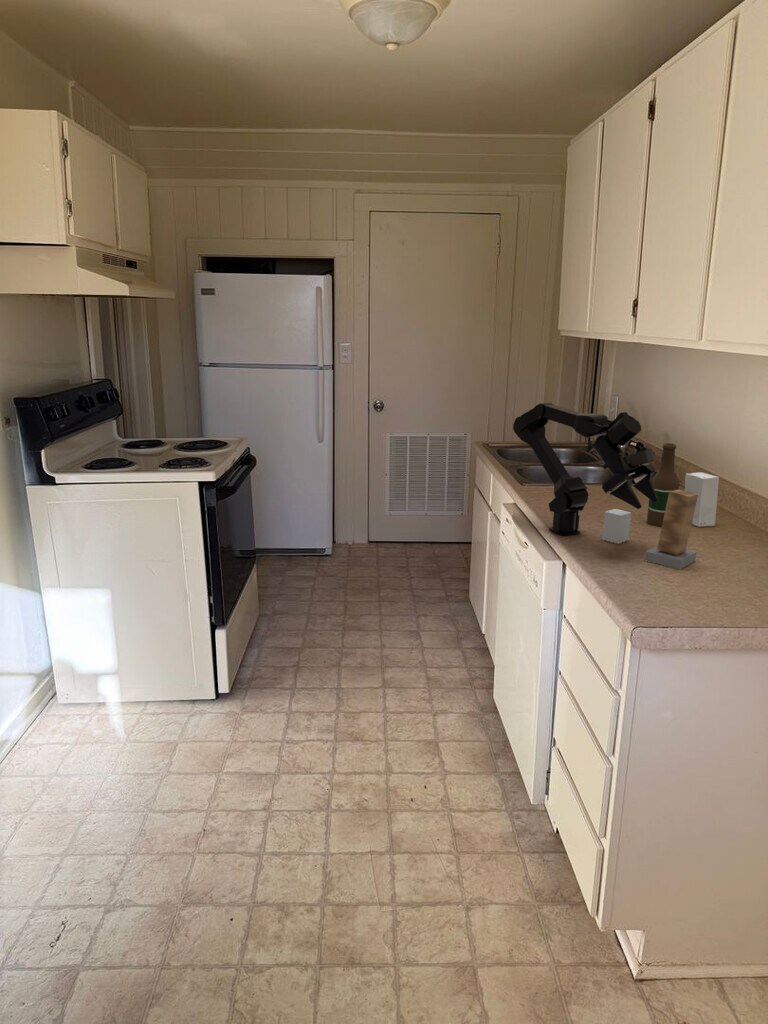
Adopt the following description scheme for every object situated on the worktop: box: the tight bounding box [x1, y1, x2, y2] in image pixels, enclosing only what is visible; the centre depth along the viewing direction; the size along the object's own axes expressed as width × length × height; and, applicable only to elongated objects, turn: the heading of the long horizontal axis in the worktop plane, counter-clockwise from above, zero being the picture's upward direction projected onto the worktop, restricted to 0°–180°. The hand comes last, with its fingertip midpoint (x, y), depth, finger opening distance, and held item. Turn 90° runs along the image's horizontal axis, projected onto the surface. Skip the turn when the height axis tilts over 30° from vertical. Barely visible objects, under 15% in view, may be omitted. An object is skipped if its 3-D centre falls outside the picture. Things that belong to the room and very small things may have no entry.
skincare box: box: [683, 471, 720, 528], centre depth 209 cm, size 8×6×15 cm
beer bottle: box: [646, 442, 680, 528], centre depth 207 cm, size 8×8×24 cm
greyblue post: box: [601, 508, 632, 545], centre depth 194 cm, size 5×5×8 cm
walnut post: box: [657, 489, 698, 555], centre depth 175 cm, size 5×5×15 cm
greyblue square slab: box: [644, 545, 697, 570], centre depth 178 cm, size 9×9×3 cm
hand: (648, 504), depth 179 cm, fingers open, 9 cm apart
